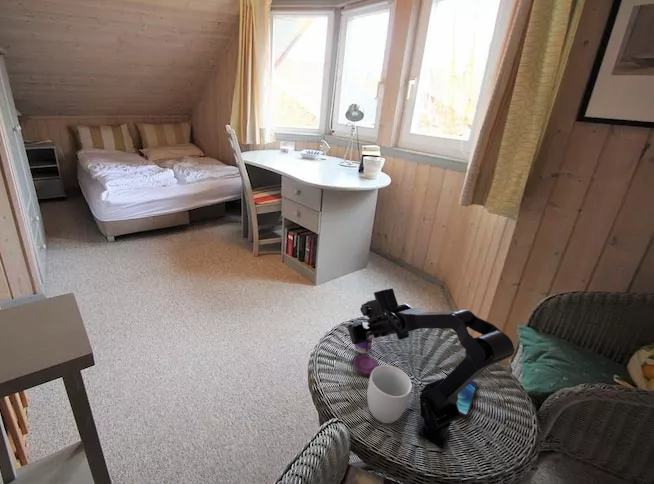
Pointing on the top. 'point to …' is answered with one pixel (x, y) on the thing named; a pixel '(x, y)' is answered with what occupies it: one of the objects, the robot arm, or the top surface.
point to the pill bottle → (364, 343)
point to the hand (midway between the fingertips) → (362, 330)
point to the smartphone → (466, 398)
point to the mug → (388, 393)
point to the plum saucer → (365, 364)
